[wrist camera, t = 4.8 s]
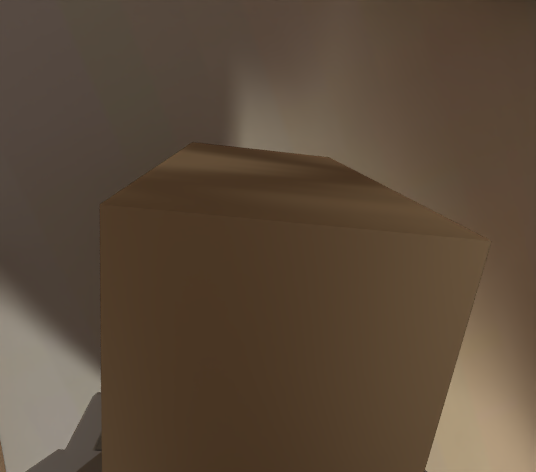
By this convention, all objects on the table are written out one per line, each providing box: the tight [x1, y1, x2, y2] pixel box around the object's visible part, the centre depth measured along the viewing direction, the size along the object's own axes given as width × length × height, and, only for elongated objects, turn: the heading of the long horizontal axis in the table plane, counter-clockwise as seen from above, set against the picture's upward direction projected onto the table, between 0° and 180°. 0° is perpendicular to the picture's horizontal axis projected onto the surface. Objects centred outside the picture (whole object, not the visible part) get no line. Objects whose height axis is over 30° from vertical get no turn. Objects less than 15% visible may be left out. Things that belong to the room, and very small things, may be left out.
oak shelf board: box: [100, 142, 491, 472], centre depth 9 cm, size 4×12×7 cm, turn 173°
